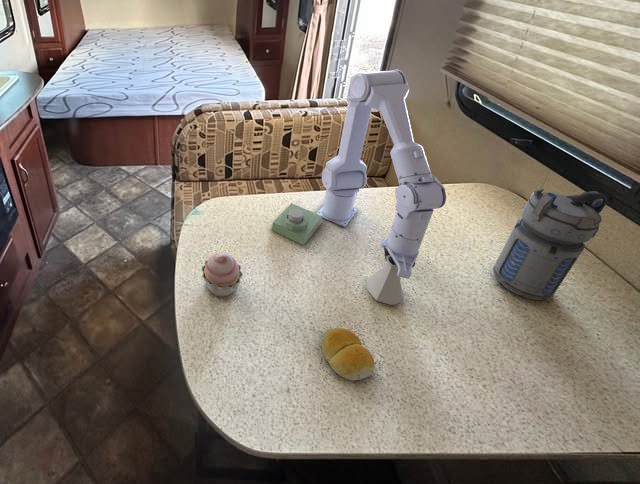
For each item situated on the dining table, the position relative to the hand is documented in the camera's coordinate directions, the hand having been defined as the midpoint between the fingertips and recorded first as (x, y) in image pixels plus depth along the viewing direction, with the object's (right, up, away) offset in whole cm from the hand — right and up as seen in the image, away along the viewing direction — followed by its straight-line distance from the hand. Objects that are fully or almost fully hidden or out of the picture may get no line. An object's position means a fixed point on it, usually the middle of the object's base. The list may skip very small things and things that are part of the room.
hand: (391, 276), depth 83 cm
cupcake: (-38, -3, +2) cm, 38 cm away
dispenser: (-15, +7, +18) cm, 24 cm away
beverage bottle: (+29, -1, -1) cm, 29 cm away
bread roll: (-17, -10, -13) cm, 24 cm away
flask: (-2, -3, -1) cm, 4 cm away
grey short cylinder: (-16, +10, +15) cm, 24 cm away
